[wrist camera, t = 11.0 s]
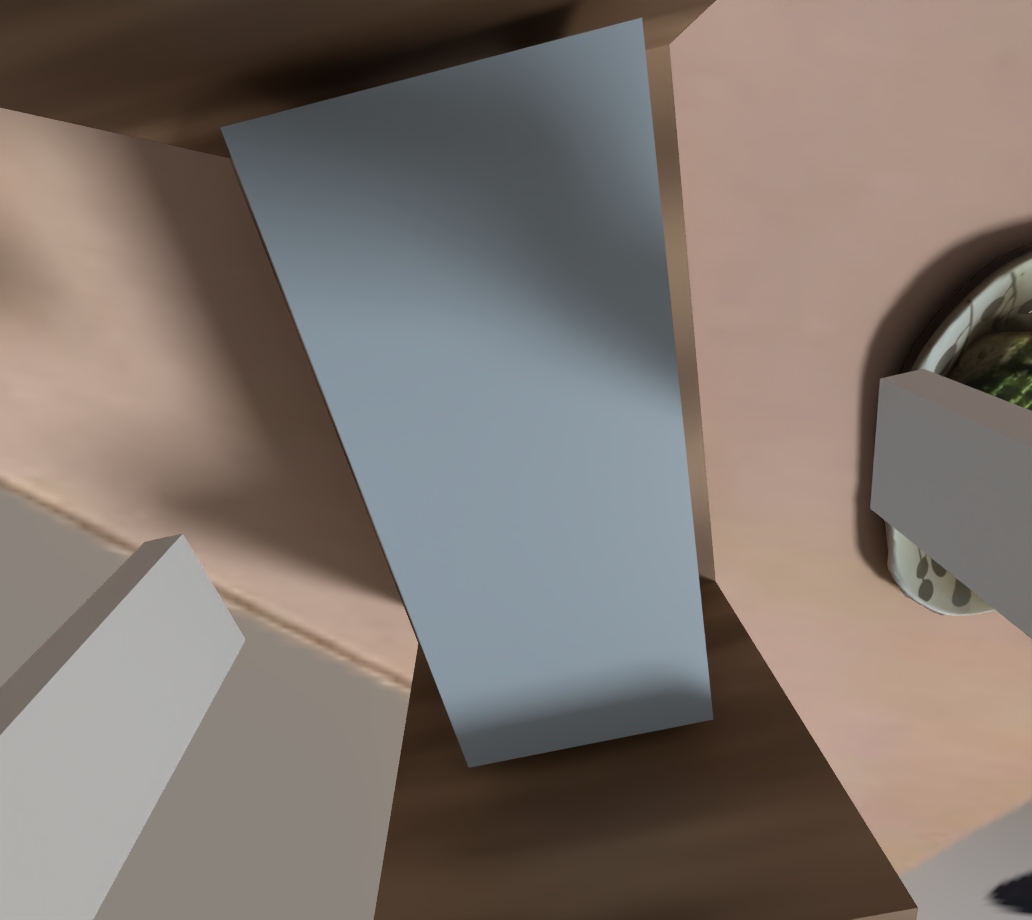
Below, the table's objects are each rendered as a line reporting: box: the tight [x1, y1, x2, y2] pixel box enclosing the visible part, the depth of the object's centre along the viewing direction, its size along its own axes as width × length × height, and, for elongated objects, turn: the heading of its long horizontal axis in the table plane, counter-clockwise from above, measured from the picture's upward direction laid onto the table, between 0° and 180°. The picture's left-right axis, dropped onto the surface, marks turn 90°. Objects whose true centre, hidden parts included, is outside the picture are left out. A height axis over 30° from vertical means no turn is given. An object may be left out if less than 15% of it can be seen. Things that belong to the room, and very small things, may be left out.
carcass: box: [0, 0, 918, 920], centre depth 14 cm, size 20×12×14 cm, turn 13°
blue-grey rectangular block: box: [220, 18, 713, 768], centre depth 14 cm, size 16×7×4 cm, turn 13°
